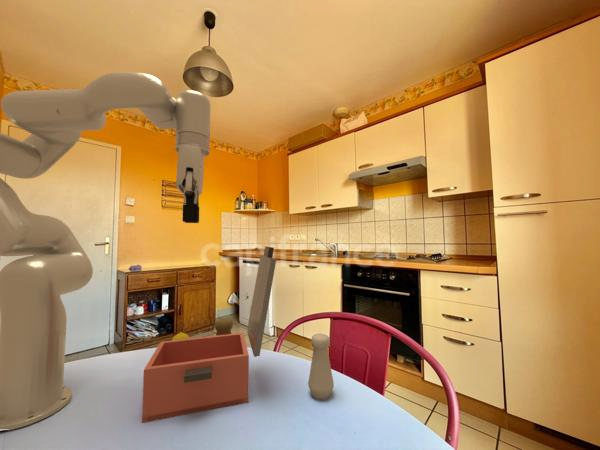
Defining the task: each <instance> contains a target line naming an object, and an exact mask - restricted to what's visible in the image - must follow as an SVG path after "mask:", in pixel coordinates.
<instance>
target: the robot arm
mask: <svg viewBox="0 0 600 450" xmlns="http://www.w3.org/2000/svg"><path fill="white" fill-rule="evenodd" d="M0 107H1V110H2V112H3V114H4V116H5V117H6V118H7V119H8V120H9V121H10V122H11V123H12V124H13V125H14V126H16V127H18V128H19V129H22V130H23V131H26V132H27V133H30V134H29V135H28V136H27V137H26V138H25V139H24V140H23V141H22V140H19V139H17V138H14V137H12V136H10V135H7V134H5V133H2V132H0V174H1V175H4V176H10V177H13V178H17V179H22V180H23V179H25V180H26V179H27V180H28V179H34V178H37V177H40V176H41V175H43V174H44V173H46V172H47V171H49V169H51V168H52V167H53V166H54V165H55V164H57V162H59V160H61V158H63V157H64V156H65V155H66V154H67V153H68V152H69V151H70V150H71V149H73V147H74V146H75V145H76V144H77V143H78V141H79V140H80V138H81V137H82V132H88V131H89V132H90V131H101V130H102V129H104V127H105V126H106V123H107V116H106V115H107V114H106V113H108V112H109V111H112V110H119V109H139V110H140V111H141V112H142V113H143V115H144V116H145V117H146V118H147V119H148V120H149V122H151V123H152V125H154V126H155V127H156V128H159V129H163V130H175V145H174V146H175V148H174V149H175V151H176V152H177V153H178V154H177V164H176V166H177V167H176V177H175V179H176V181H175V187H176V189H177V190H178V191H179V192H180V193H181V194H182V195H183V204H182V221H183V223H185V224H199V223H200V206H199V205H200V203H199V201H200V195H202V194H203V189H204V179H205V178H204V174H205V173H204V172H205V171H204V170H205V157H207V156H209V155H210V149H211V148H210V147H211V146H210V140H211V139H210V138H211V137H210V135H211V134H210V133H211V102H210V100H209V98H208V97H207V96H206V94H205V95H204V94H203V93H201V92H199V91H196V90H189V89H188V90H182V91H180V92H179V93H178V95H177V97H176V98H175V97H173V96H172V95H171V92H170V91H169V89H168V87H167V86H166V84H165V83H164V82H163V81H161V80H160V79H159V78H158V77H156V76H155V75H152V74H149V73H144V72H135V71H134V72H131V71H127V72H123V71H122V72H121V71H119V72H109V73H105V74H103V75H100V76H98V77H97V78H95V79H93V80H92V81H90V82H89V83H88V84H87V85H86V86H85V87H84V88H79V89H78V88H76V89H74V88H73V89H68V88H67V89H35V90H28V89H27V90H16V91H12V92H9V93H6V94H5V95H4V96H3V97H2V98H1V101H0ZM19 256H20V258H17V259H15V260H13V261H10V262H9V263H8V264H6V265H5V266H4V267H2V268H1V269H0V429H10V430H9V431H12V430H17V429H20V428H23V427H26V426H29V425H32V424H34V423H38V422H39V421H41V420H43V419H46V418H48V417H49V416H51V415H53V414H55V413H57V412H58V411H60V410H61V409H62V408H64V407H66V405H68V403H70V402H71V399H72V398H73V397H72V396H73V390H72V389H71V388H70V387H67V386H64V375H65V374H64V373H65V359H66V340H67V312H66V307H65V305H64V303H63V301H62V298H61V296H62V295H65V294H68V293H72V292H76V291H78V290H81V289H82V288H84V287H85V286H86V285H88V284H89V282H90V281H91V279H92V278H93V272H94V270H93V264H92V261H91V259H90V258H89V256H88V255H87V253H86V252H85V250H84V248H83V247H82V245H81V244H80V242H79V241H78V239H77V238H76V236H75V235H74V233H73V232H72V229H71V228H70V227H69V226H68V225H67V224H66V223H65V222H63V221H62V220H60V219H58V218H57V217H53V216H49V215H44V214H37V213H33V212H31V211H29V210H28V209H27V206H25V205H24V203H23V202H22V201H21V199H20V197H19V196H18V194H17V193H16V191H15V190H14V189H13V187H11V185H10V184H8V183H7V182H6V181H5V180H3V179H2V178H1V177H0V257H19ZM23 256H24V257H23Z"/></svg>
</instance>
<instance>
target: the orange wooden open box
mask: <svg viewBox="0 0 600 450" xmlns="http://www.w3.org/2000/svg"><path fill="white" fill-rule="evenodd" d="M189 338H190V339H181V340H172V339H171V340H164V341H160V342H159V343H158V345H157V347H156V349H155V350H154V352H153V354H152V355H151V357H150V359H149V361H148V362H147V364H146V365H145V367H144V369H143V384H142V386H143V387H142V407H141V408H142V412H141V413H142V415H141V424H142V423H149V422H153V421H158V420H162V419H170V418H174V417H178V416H179V417H180V416H185V415H188V414H195V413H201V412H206V411H211V410H215V409H216V410H217V409H221V408H226V407H231V406H236V405H242V404H247V403H249V375H250V374H249V371H250V370H249V368H250V367H249V365H250V363H249V362H250V361H249V360H250V357H249V356H250V355H249V351H248V347H247V342H246V338H245V334H244V332H237V333H231V334H227V335H218V336H216V335H210V336H200V337H189Z"/></svg>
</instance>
